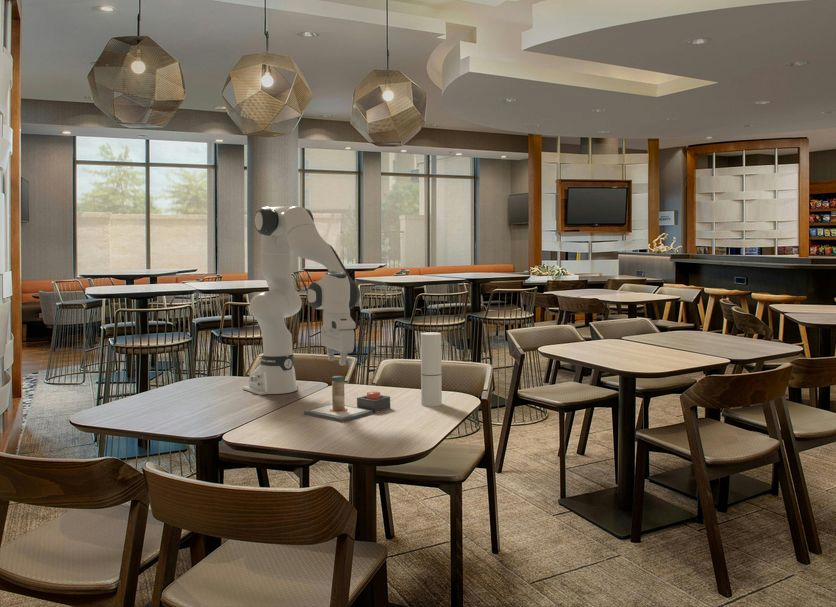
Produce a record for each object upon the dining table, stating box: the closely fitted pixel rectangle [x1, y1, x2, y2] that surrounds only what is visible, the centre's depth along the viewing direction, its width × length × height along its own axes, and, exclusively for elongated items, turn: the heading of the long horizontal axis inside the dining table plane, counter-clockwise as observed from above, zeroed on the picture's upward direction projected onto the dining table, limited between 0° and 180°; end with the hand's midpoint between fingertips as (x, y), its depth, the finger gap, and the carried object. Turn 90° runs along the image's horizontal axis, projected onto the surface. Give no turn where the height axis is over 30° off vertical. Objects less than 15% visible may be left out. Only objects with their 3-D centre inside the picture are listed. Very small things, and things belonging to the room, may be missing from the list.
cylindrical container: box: [420, 331, 443, 407], centre depth 232 cm, size 7×7×25 cm
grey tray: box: [303, 403, 374, 423], centre depth 221 cm, size 18×14×1 cm
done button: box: [366, 391, 381, 400], centre depth 227 cm, size 5×5×3 cm
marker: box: [331, 375, 345, 411], centre depth 220 cm, size 4×4×11 cm
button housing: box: [356, 394, 391, 414], centre depth 227 cm, size 8×8×4 cm
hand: (336, 362), depth 219 cm, fingers open, 8 cm apart
